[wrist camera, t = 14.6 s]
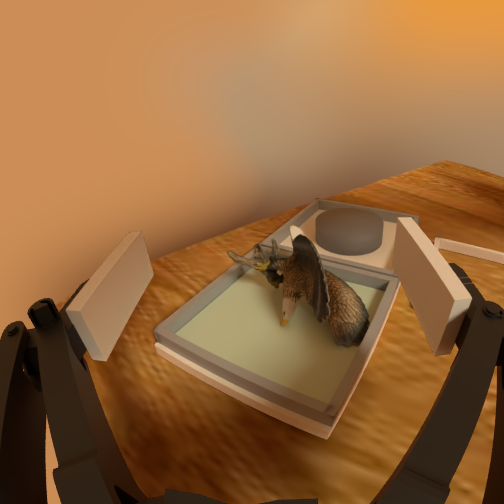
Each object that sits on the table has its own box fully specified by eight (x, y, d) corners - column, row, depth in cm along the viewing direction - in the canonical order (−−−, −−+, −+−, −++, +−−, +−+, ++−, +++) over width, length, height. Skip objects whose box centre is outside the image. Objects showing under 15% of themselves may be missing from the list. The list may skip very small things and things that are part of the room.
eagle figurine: (213, 308, 22) (310, 358, 15) (236, 208, 22) (345, 217, 15) (287, 313, 27) (377, 348, 20) (306, 232, 27) (402, 246, 20)
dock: (317, 213, 40) (317, 191, 39) (417, 232, 33) (420, 208, 32) (157, 354, 21) (145, 324, 20) (327, 440, 14) (332, 413, 13)
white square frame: (433, 244, 31) (435, 236, 30) (527, 267, 24) (530, 259, 24) (418, 312, 22) (421, 302, 22) (543, 343, 16) (548, 334, 15)
